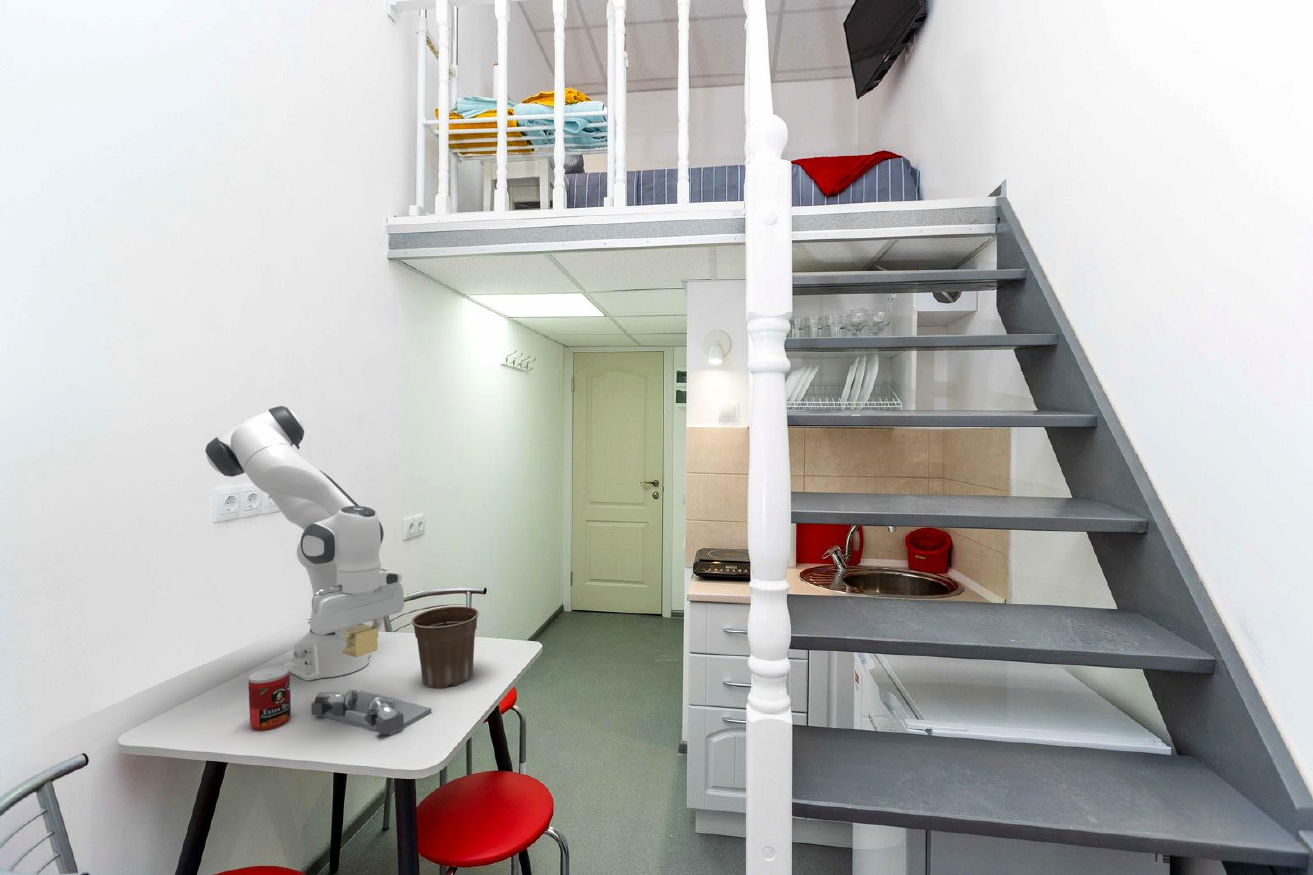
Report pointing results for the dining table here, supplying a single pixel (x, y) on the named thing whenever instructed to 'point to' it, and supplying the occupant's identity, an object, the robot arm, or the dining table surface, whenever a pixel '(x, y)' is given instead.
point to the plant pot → (446, 644)
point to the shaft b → (383, 715)
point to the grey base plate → (359, 712)
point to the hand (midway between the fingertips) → (359, 643)
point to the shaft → (334, 702)
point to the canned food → (269, 698)
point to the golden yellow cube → (361, 640)
